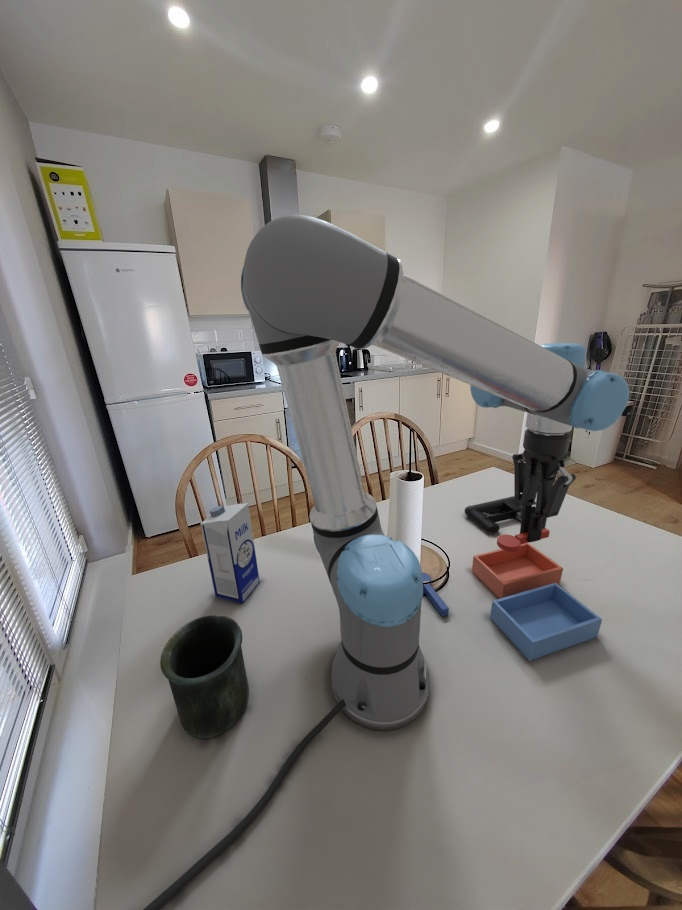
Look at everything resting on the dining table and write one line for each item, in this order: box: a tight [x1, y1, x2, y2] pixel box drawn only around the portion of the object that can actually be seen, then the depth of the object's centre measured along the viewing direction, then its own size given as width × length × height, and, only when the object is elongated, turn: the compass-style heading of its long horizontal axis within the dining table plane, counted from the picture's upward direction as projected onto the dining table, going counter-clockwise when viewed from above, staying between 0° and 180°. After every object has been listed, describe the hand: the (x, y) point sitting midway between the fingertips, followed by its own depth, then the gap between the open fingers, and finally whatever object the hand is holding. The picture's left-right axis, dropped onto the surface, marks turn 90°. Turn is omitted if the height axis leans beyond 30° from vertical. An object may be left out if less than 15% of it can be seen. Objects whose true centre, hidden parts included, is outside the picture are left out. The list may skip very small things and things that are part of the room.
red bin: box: [471, 542, 564, 599], centre depth 77 cm, size 15×10×4 cm, turn 107°
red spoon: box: [496, 527, 551, 552], centre depth 74 cm, size 12×4×2 cm, turn 107°
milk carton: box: [200, 503, 261, 604], centre depth 74 cm, size 7×7×20 cm
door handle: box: [464, 495, 522, 534], centre depth 98 cm, size 3×20×16 cm
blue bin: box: [489, 583, 603, 662], centre depth 64 cm, size 15×10×4 cm, turn 107°
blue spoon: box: [422, 572, 450, 617], centre depth 73 cm, size 12×4×2 cm, turn 17°
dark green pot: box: [159, 614, 250, 739], centre depth 53 cm, size 11×15×12 cm
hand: (529, 537), depth 75 cm, fingers closed on red spoon, 1 cm apart
